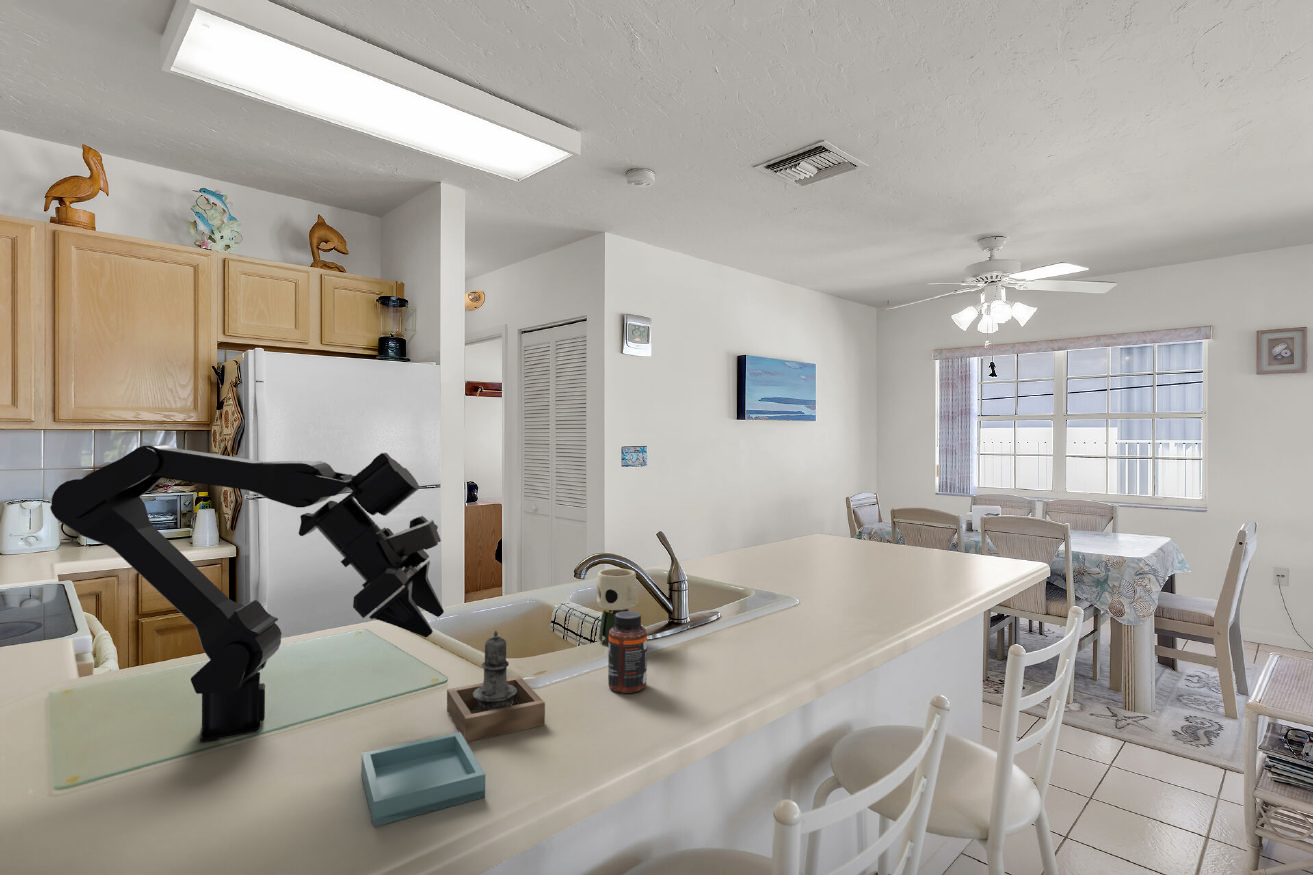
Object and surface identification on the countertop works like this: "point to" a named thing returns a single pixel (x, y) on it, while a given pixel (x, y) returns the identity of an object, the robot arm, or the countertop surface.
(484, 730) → the box
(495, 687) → the salt shaker
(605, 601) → the character mug
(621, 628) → the supplement bottle
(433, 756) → the tray
